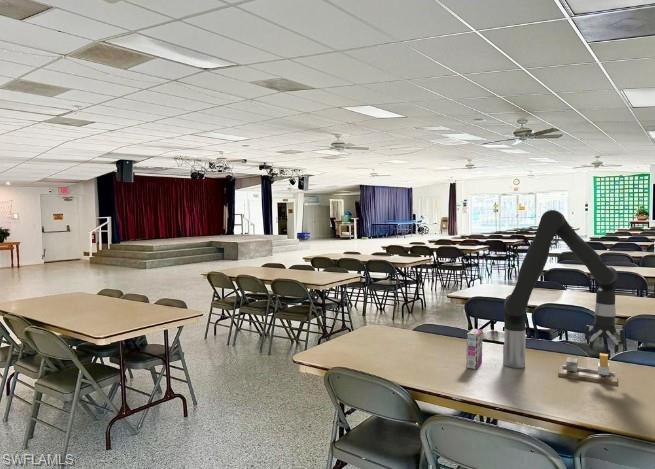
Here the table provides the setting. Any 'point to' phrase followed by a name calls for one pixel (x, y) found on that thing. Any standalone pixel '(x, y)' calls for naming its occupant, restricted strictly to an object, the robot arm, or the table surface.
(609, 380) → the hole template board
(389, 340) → the table surface
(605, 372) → the block
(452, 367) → the table surface
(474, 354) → the candy bar box
